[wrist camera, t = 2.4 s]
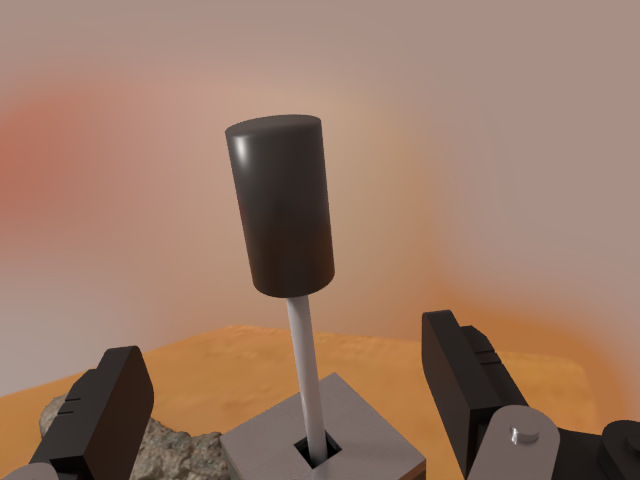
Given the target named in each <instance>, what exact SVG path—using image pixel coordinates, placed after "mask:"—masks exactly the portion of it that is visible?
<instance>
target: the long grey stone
mask: <svg viewBox="0 0 640 480" xmlns="http://www.w3.org/2000/svg"><path fill="white" fill-rule="evenodd" d="M68 393H69V392H68ZM68 393H66V394H64V395H62V396H60V397H56V398H53V400H52V401H51V402H50V404H49V405H48V406H46V407H45V408H44V410H43V412H42V414H41V418H40V420H39V426H40V432H41V438H42V439H43V437H44V436H45V434H46V432H47V430H48V429H49V427H50V425H51V423H52V422H53V420H54V418H55V416H57V415H58V414H57V413H58V411H59V409H60V407H61V406H62V404H63V403H65V399H66V397H67V395H68ZM222 435H223V434H221V433H220V432H212V433H210V434H202V435H200V436H198V437H195V436H194V437H191V436H190V435H189V434H188V433H187V432H181V431H180V432H173V431H172V430H170V429H167V428H164V426H162V425H161V424H160V422H156V421H154V419H153V418H151V417H150V418H149V421H148V424H147V428H146V431H145V434H144V437H143V440H142V443H141V446H140V449H139V452H138V455H137V458H136V461H135V464H134V467H133V470H132V473H131V476H130V479H129V480H231V478H230V474H229V471H228V467H227V463H226V460H225V456H224V452H223V449H222V445H221V442H220V438H219V437H220V436H222Z"/></svg>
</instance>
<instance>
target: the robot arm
mask: <svg viewBox="0 0 640 480" xmlns="http://www.w3.org/2000/svg"><path fill="white" fill-rule="evenodd" d="M422 364H423V370H424V374H425V377H426V380H427V382H428V385H429V388H430V390H431V393H432V396H433V398H434V401H435V403H436V406H437V409H438V411H439V414H440V417H441V419H442V422H443V424H444V427H445V430H446V432H447V435H448V437H449V440H450V443H451V445H452V448H453V451H454V453H455V456H456V458H457V461H458V464H459V466H460V469H461V472H462V474H463V477H464V479H465V480H640V422H636V421H630V420H619V421H615V422H611V423H610V424H608V425H607V426H606V427H605V428H604V430H603V432H602V435H595V434H589V433H582V432H575V431H569V430H565V429H562V428H558V427H556V425H555V424H554V423H553V422H552V420H551V419H549V418H548V417H547V416H546V415H545V414H543V413H541V412H540V411H538V410H536V409H533V408H530V407H529V405H528V404H527V402H526V400H525V399H524V397H523V396H522V394H521V392H520V391H519V389H518V387H517V386H516V384H515V382H514V381H513V379H512V378H511V376H510V374H509V373H508V371H507V369H506V368H505V366H504V365H503V364H502V363H501V360H500V358H499V356H498V355H497V353H495V350H494V348H493V347H492V345H491V344H490V342H489V340H488V339H487V337H486V336H485V335H484V334H482V333H481V332H480V331H478V330H477V329H476V328H474V327H473V326H463V327H460V326H459V324H458V323H457V321H456V319H455V317H454V315H453V313H452V312H451V311H450V310H442V311H435V312H425V313H423V315H422ZM153 404H154V391H153V386H152V383H151V380H150V377H149V374H148V371H147V368H146V365H145V362H144V359H143V357H142V354H141V351H140V349H139V347H137V346H128V347H119V348H111V349H108V350H106V352H105V353H104V355H103V357H102V359H101V361H100V363H99V365H98V367H97V369H90V370H88V371H87V372H86V373H85V374H84V375H83V376H82V377H81V378H80V379H79V380H77V381H76V382H75V383H74V384H73V386H72V388H71V390H70V391H69V393H68V395H67V397H66V399H65V403H63V404H62V406H61V407H60V409H59V411H58V413H57V414H58V415H57V416H55V418H54V420H53V422H52V423H51V425H50V427H49V429H48V430H47V432H46V434H45V436H44V437H43V439H42V441H41V443H40V445H39V446H38V448H37V450H36V452H35V453H34V455H33V457H32V459H31V460H30V462H29V464H28V465H25V466H23V467H20V468H18V469H16V470H15V471H13V472H11V473H10V474H8V475H7V476H6V477H4V478H3V479H2V480H129V479H130V476H131V473H132V470H133V467H134V464H135V461H136V458H137V455H138V452H139V449H140V446H141V443H142V440H143V437H144V434H145V431H146V428H147V424H148V421H149V418H150V415H151V412H152V409H153Z"/></svg>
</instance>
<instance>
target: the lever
mask: <svg viewBox="0 0 640 480" xmlns="http://www.w3.org/2000/svg"><path fill="white" fill-rule="evenodd" d="M225 134H226V139H227V145H228V150H229V156H230V161H231V167H232V172H233V177H234V183H235V188H236V193H237V199H238V204H239V209H240V215H241V220H242V225H243V231H244V236H245V242H246V247H247V252H248V258H249V263H250V268H251V274H252V279H253V284H254V286H255V288H256V289H257V290H258V291H260V292H261V293H263V294H266V295H268V296H272V297H277V298H286V301H287V308H288V314H289V320H290V327H291V334H292V341H293V347H294V354H295V361H296V367H297V374H298V380H299V387H300V394H301V400H302V407H303V414H304V420H305V427H306V433H307V440H308V447H309V453H310V460H311V467H312V470H313V469H314V468H316V467H317V466H319V465H320V464H322V463H323V462H325V461H326V460H328V453H327V445H326V437H325V429H324V421H323V413H322V405H321V397H320V389H319V381H318V373H317V365H316V357H315V349H314V341H313V333H312V325H311V317H310V310H309V302H308V295H309V294H311V293H314V292H317V291H319V290H321V289H322V288H324V287H325V286H326V285H328V284H329V283H330V282H331V281H332V279H333V277H334V273H335V269H334V258H333V248H332V237H331V225H330V215H329V203H328V194H327V193H328V192H327V182H326V170H325V159H324V148H323V138H322V126H321V120H320V119H319V118H317V117H314V116H310V115H277V116H268V117H262V118H256V119H252V120H247V121H244V122H240V123H237V124H235V125H233V126H231V127H229V128H228V129H226V131H225Z"/></svg>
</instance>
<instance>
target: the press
mask: <svg viewBox="0 0 640 480" xmlns="http://www.w3.org/2000/svg"><path fill="white" fill-rule="evenodd" d="M319 389H320V397H321V405H322V413H323V421H324V429H325V437H326V445H327V453H328V460H326V461H325V462H323V463H322V464H320V465H319V466H317V467H316V468H314V469H313V470H312V467H311V460H310V453H309V447H308V440H307V433H306V427H305V420H304V414H303V407H302V400H301V394H300V392H299V393H297V394H295V395H293V396H291V397H290V398H288V399H286V400H284V401H283V402H281V403H279V404H277V405H275V406H274V407H272V408H270V409H268V410H266V411H265V412H263V413H261V414H259V415H257V416H256V417H254V418H252V419H250V420H248V421H247V422H245V423H243V424H241V425H240V426H238V427H236V428H234V429H232V430H231V431H229V432H227V433H225V434H223V435H222V436H220V437H219V438H220V442H221V445H222V449H223V452H224V456H225V460H226V463H227V467H228V471H229V474H230V478H231V480H426V458H425V457H424V456H423V455H422V454H421V453H420V452H419V451H418V450H417V449H416V448H415V447H414V446H413V445H411V444H410V443H409V442H408V441H407V440H406V439H405V438H404V437H403V436H402V435H401V434H400V433H399V432H398V431H397V430H396V429H395V428H393V427H392V426H391V425H390V424H389V423H388V422H387V421H386V420H385V419H384V418H383V417H382V416H381V415H380V414H379V413H378V412H377V411H376V410H374V409H373V408H372V407H371V406H370V405H369V404H368V403H367V402H366V401H365V400H364V399H363V398H362V397H361V396H360V395H359V394H358V393H356V392H355V391H354V390H353V389H352V388H351V387H350V386H349V385H348V384H347V383H346V382H345V381H344V380H343V379H342V378H341V377H340V376H339V375H337V374H336V373H335V372H334V373H333V374H331V375H329V376H327V377H325V378H324V379H322V380H320V381H319Z"/></svg>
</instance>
